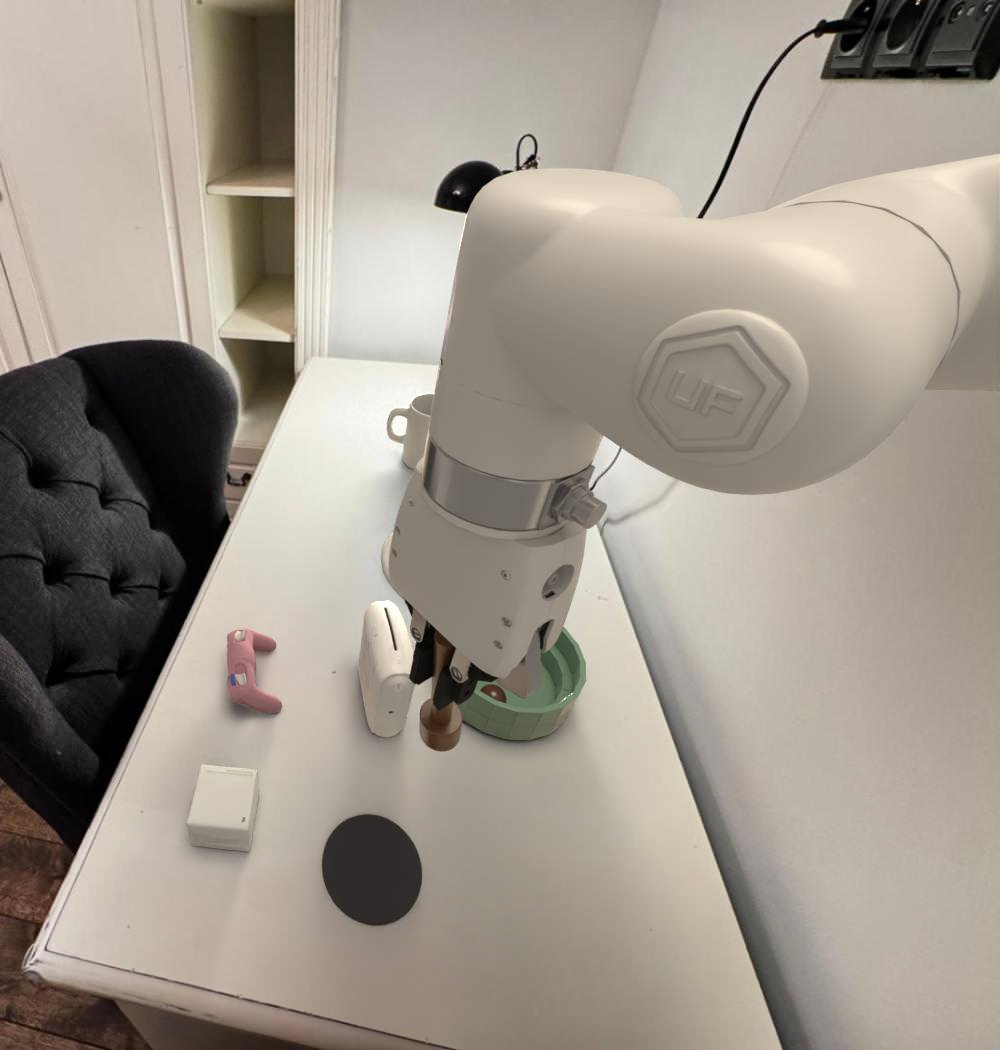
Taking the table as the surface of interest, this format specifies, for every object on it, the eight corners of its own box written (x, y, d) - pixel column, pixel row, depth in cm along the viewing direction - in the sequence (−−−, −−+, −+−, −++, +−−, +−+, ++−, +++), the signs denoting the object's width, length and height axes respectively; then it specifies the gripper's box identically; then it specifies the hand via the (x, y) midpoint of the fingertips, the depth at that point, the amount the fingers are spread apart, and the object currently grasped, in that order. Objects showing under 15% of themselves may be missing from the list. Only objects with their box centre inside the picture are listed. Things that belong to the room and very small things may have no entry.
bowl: (596, 698, 65) (615, 667, 61) (506, 769, 59) (521, 739, 55) (494, 613, 75) (505, 581, 71) (407, 666, 68) (414, 635, 64)
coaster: (442, 882, 51) (443, 881, 50) (363, 950, 47) (363, 949, 47) (378, 797, 56) (378, 795, 56) (303, 851, 53) (303, 850, 52)
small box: (260, 791, 57) (258, 768, 54) (251, 853, 52) (248, 832, 49) (204, 785, 57) (199, 762, 54) (190, 847, 53) (183, 825, 50)
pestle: (468, 740, 45) (484, 644, 35) (434, 759, 44) (440, 667, 34) (444, 706, 47) (453, 607, 37) (411, 724, 46) (411, 628, 36)
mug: (453, 452, 104) (464, 397, 97) (446, 477, 98) (457, 421, 91) (388, 440, 107) (395, 386, 100) (378, 464, 101) (384, 409, 94)
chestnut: (513, 688, 63) (487, 680, 65) (502, 689, 61) (475, 681, 63) (508, 715, 63) (482, 706, 65) (497, 717, 60) (471, 708, 62)
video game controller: (247, 654, 71) (217, 624, 67) (279, 641, 70) (251, 610, 66) (250, 726, 64) (217, 698, 59) (286, 713, 63) (255, 683, 58)
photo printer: (407, 738, 61) (424, 669, 53) (368, 740, 61) (379, 672, 53) (389, 659, 69) (402, 589, 61) (354, 661, 69) (362, 591, 61)
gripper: (701, 528, 24) (568, 746, 36) (443, 386, 34) (405, 594, 46) (592, 599, 21) (486, 812, 33) (343, 420, 31) (330, 633, 43)
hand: (439, 684), depth 40 cm, fingers closed on pestle
